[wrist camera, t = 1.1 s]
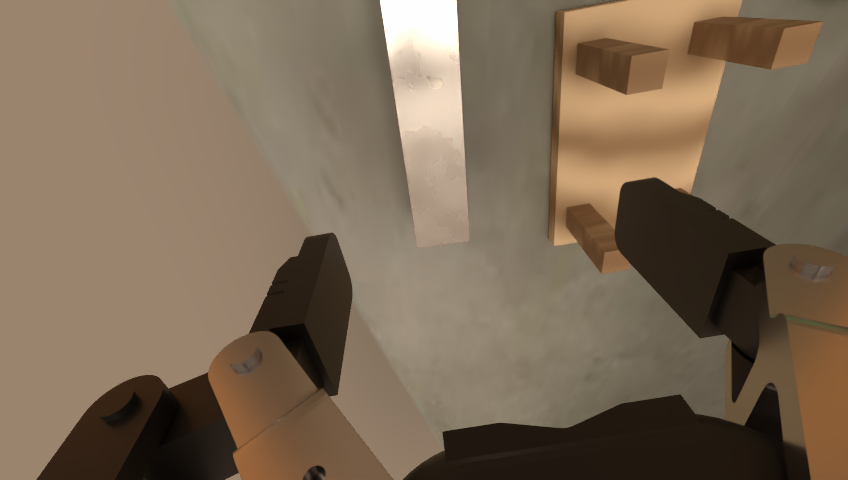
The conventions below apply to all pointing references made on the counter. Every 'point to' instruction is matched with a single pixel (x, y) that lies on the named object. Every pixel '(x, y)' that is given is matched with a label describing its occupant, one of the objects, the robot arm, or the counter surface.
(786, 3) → the counter surface
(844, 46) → the counter surface
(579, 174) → the rack
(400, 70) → the pale beige plank
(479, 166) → the counter surface
